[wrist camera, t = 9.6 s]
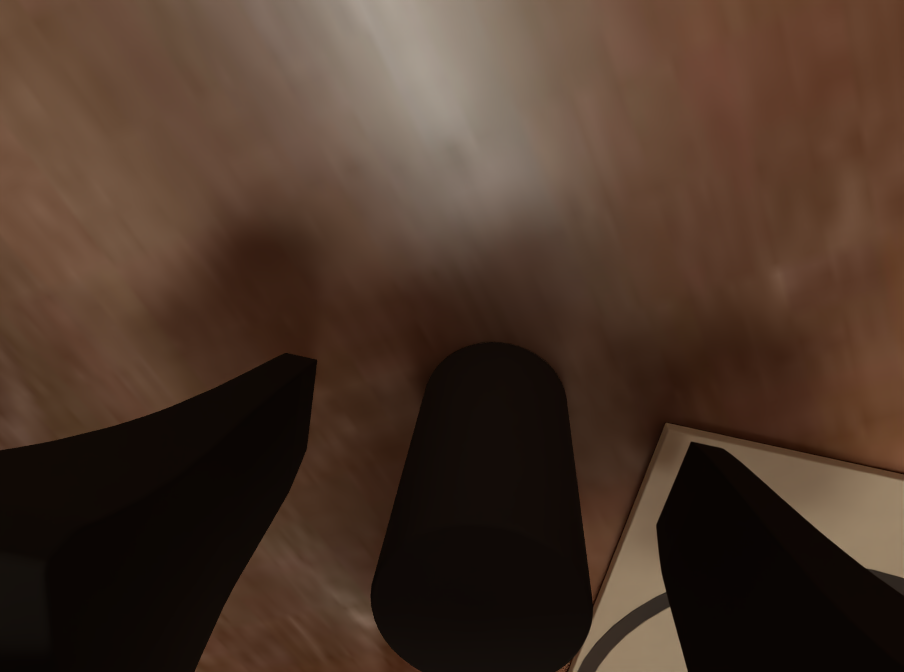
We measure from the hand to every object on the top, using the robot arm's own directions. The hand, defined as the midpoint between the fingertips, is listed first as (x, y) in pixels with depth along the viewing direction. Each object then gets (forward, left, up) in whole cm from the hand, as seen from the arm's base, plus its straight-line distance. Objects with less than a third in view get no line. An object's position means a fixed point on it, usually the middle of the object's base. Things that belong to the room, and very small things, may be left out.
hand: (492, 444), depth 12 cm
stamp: (0, 0, -2) cm, 2 cm away
